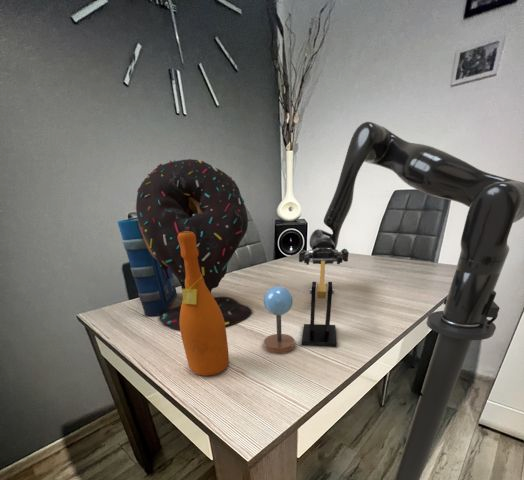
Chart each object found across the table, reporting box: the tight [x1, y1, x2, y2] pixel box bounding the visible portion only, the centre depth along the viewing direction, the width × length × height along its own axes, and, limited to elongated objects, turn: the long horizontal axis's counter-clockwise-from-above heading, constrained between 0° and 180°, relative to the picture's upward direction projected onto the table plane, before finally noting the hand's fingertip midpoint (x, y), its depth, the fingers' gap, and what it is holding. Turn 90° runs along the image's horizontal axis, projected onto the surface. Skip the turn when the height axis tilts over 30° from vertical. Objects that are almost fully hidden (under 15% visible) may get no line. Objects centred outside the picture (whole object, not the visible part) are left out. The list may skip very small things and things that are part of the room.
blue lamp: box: [263, 285, 296, 355], centre depth 68 cm, size 8×8×16 cm
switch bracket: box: [300, 281, 338, 348], centre depth 72 cm, size 11×9×15 cm
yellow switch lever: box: [312, 258, 334, 299], centre depth 72 cm, size 14×6×2 cm, turn 169°
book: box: [117, 216, 178, 317], centre depth 98 cm, size 24×9×30 cm, turn 5°
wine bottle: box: [178, 231, 230, 377], centre depth 58 cm, size 10×10×30 cm
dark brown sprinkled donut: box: [135, 158, 252, 331], centre depth 84 cm, size 30×32×45 cm
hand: (323, 260), depth 76 cm, fingers open, 8 cm apart
